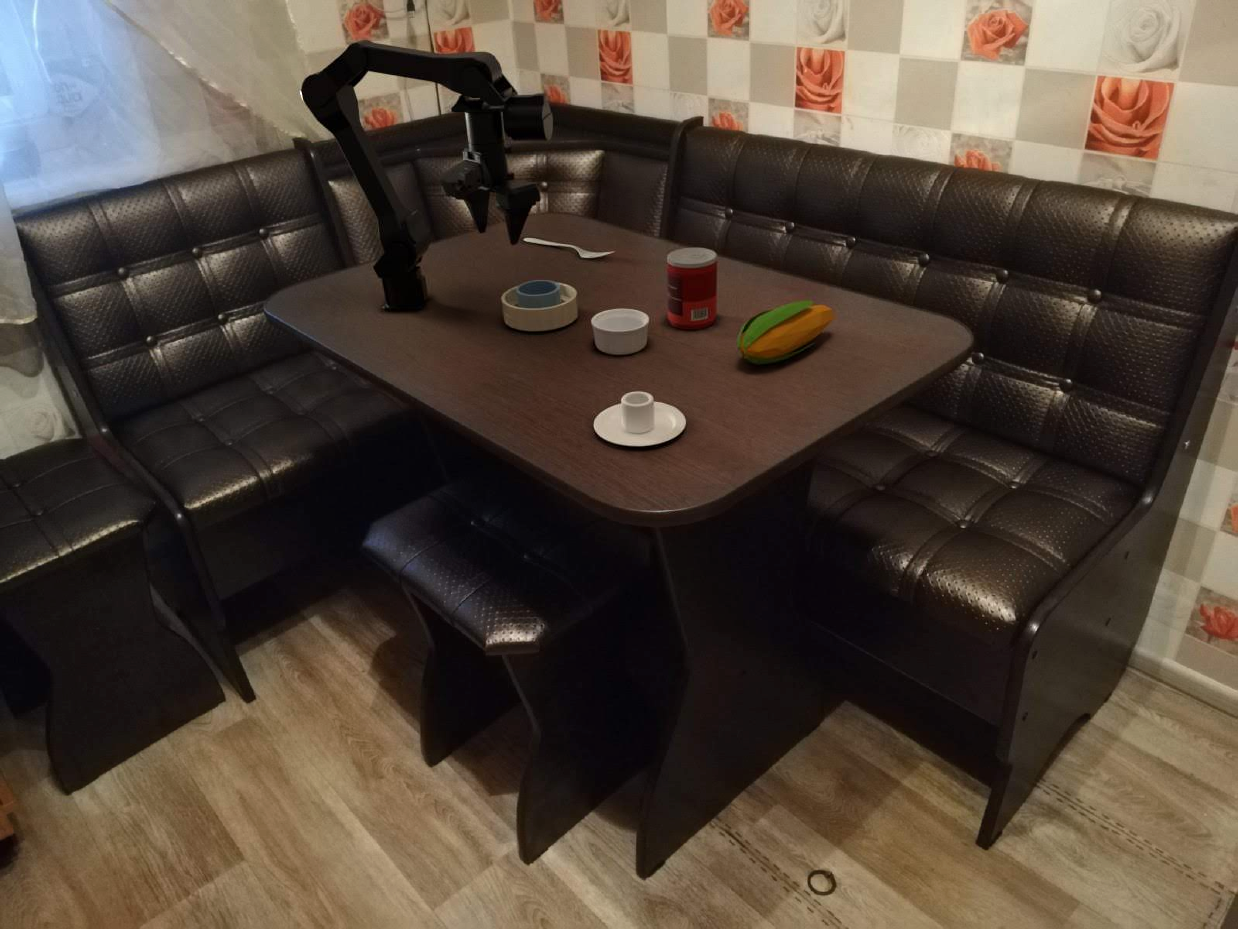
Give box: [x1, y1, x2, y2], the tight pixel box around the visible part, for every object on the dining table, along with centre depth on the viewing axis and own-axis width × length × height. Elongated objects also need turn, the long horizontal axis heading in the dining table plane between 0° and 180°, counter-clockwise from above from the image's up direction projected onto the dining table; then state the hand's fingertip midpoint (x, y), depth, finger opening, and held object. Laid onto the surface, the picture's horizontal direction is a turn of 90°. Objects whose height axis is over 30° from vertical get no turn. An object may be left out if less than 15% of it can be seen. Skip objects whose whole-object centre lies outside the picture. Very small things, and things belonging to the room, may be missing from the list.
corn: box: [736, 300, 835, 366], centre depth 136 cm, size 7×8×20 cm
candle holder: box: [593, 391, 687, 447], centre depth 119 cm, size 12×12×4 cm
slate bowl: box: [516, 279, 562, 309], centre depth 152 cm, size 7×7×5 cm
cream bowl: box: [500, 281, 579, 332], centre depth 152 cm, size 12×12×4 cm
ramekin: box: [590, 308, 650, 356], centre depth 142 cm, size 9×9×4 cm
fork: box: [523, 237, 616, 259], centre depth 182 cm, size 3×24×2 cm, turn 48°
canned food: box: [666, 247, 718, 331], centre depth 147 cm, size 8×8×11 cm
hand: (497, 238), depth 153 cm, fingers open, 9 cm apart
